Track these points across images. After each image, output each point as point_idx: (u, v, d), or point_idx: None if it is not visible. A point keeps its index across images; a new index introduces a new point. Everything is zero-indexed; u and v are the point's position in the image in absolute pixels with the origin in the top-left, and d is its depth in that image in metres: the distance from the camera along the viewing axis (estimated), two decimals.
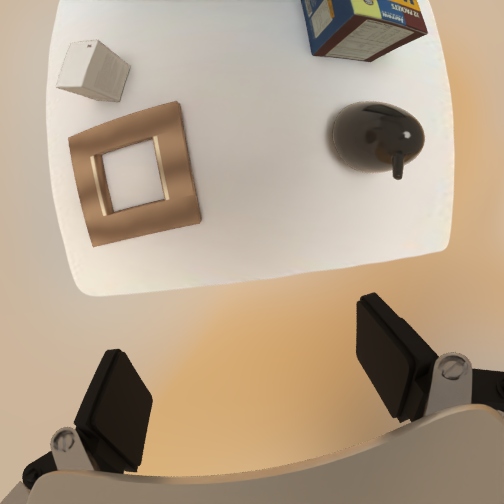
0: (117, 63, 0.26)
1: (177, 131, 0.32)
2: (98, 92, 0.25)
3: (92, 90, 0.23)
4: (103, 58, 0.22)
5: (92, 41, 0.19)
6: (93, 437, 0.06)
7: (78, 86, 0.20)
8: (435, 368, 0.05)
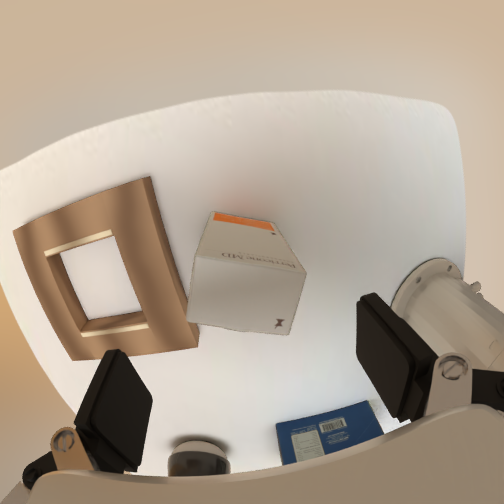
0: None
1: (158, 348, 0.26)
2: None
3: None
4: None
5: (288, 326, 0.15)
6: (93, 437, 0.06)
7: (187, 315, 0.14)
8: (435, 368, 0.05)
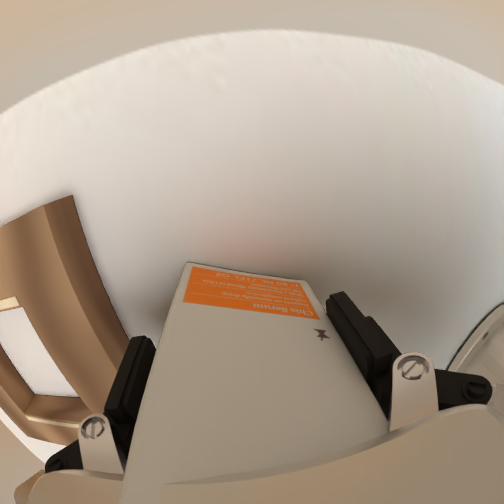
0: None
1: None
2: None
3: None
4: None
5: None
6: (123, 422, 0.06)
7: None
8: (394, 367, 0.06)
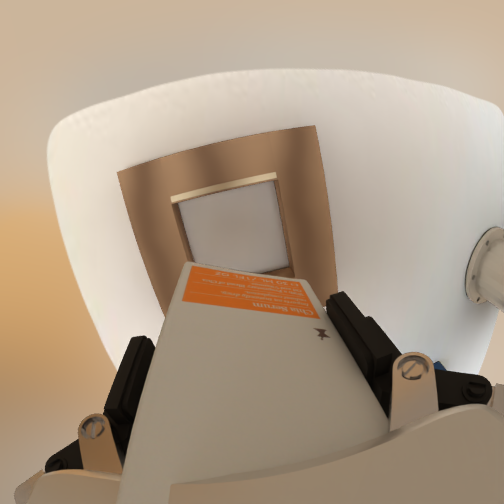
0: None
1: None
2: None
3: None
4: None
5: None
6: (123, 422, 0.06)
7: None
8: (394, 367, 0.06)
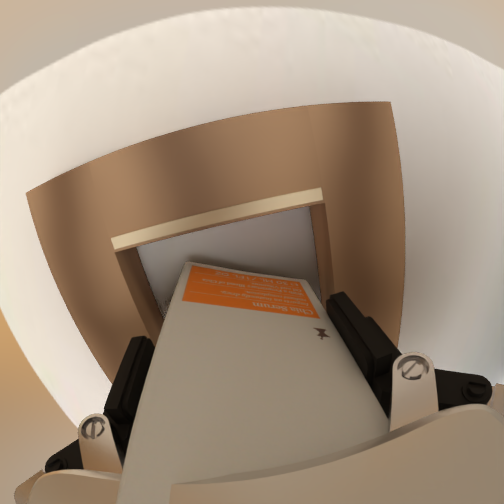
0: None
1: None
2: None
3: None
4: None
5: None
6: (123, 422, 0.06)
7: None
8: (394, 367, 0.06)
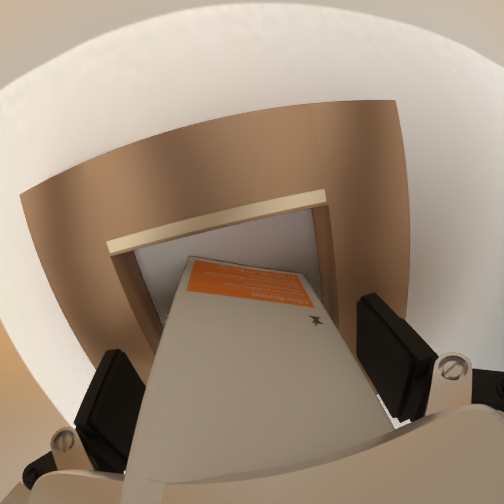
0: None
1: None
2: None
3: None
4: None
5: None
6: (93, 437, 0.06)
7: None
8: (435, 368, 0.05)
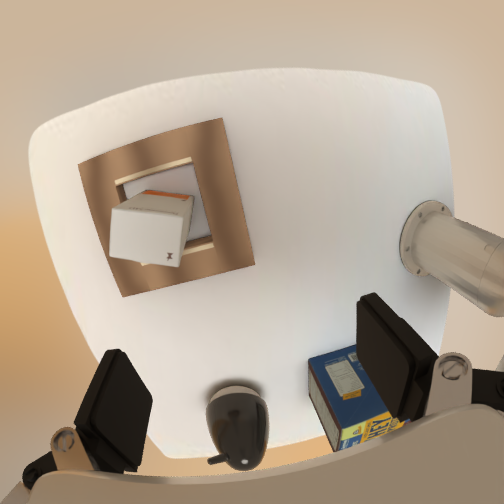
0: None
1: (218, 269, 0.32)
2: None
3: None
4: None
5: (177, 259, 0.21)
6: (93, 437, 0.06)
7: (109, 251, 0.20)
8: (435, 368, 0.05)
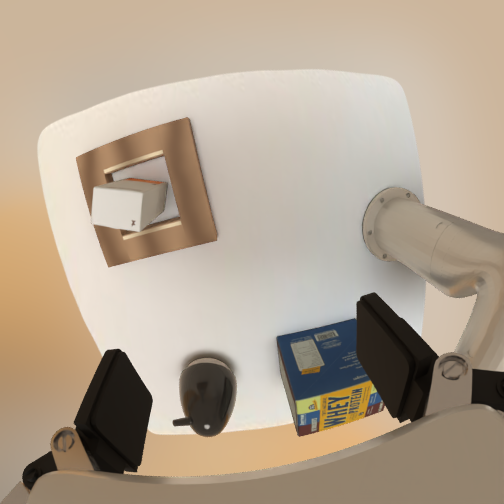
0: None
1: (186, 243, 0.37)
2: None
3: None
4: None
5: (138, 225, 0.26)
6: (93, 437, 0.06)
7: (91, 219, 0.25)
8: (435, 368, 0.05)
